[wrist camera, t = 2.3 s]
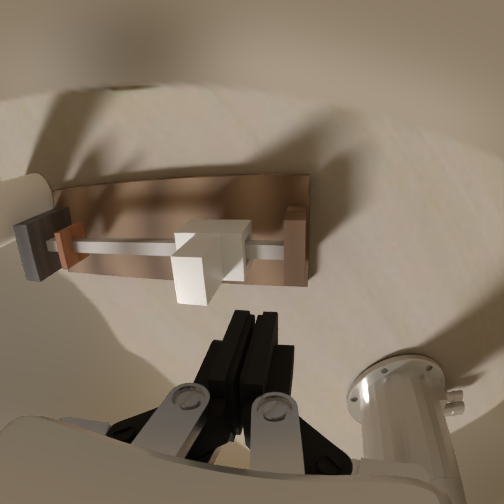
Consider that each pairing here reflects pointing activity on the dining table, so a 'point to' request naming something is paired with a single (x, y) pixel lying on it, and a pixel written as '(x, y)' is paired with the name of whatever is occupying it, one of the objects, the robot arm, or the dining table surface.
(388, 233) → the dining table surface
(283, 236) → the rail
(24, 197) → the cylindrical container
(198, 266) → the sleeve
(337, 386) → the dining table surface
